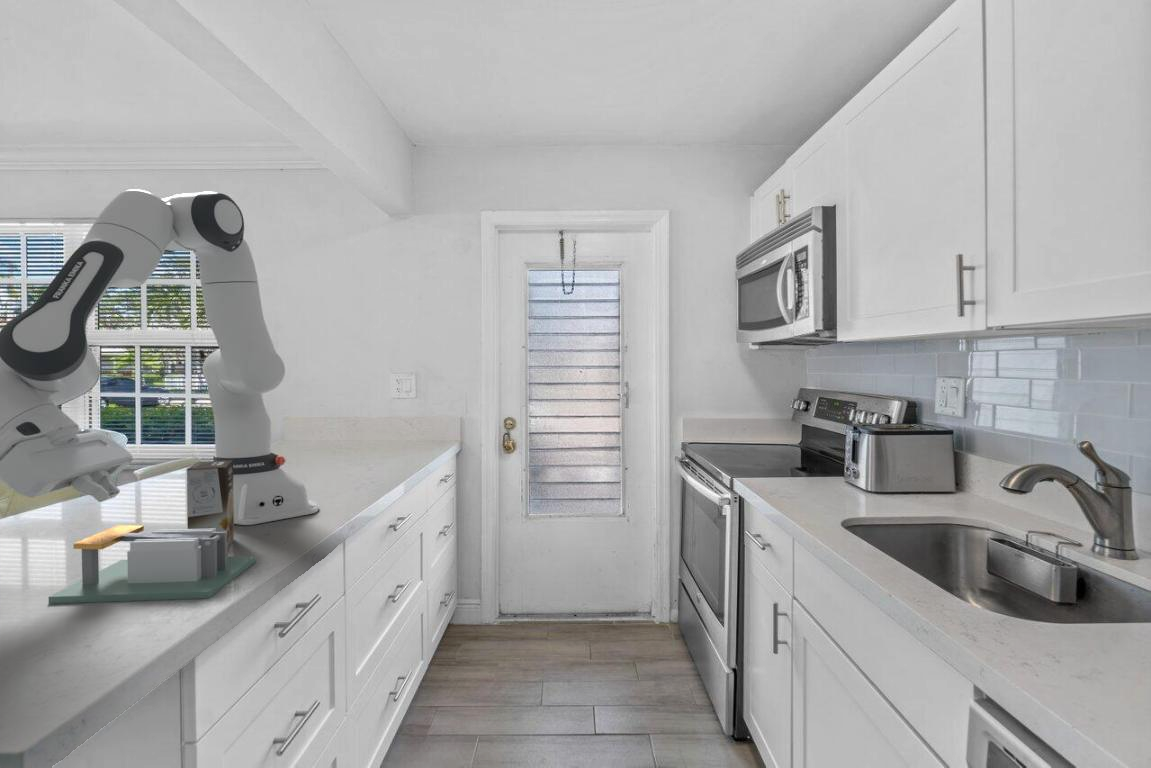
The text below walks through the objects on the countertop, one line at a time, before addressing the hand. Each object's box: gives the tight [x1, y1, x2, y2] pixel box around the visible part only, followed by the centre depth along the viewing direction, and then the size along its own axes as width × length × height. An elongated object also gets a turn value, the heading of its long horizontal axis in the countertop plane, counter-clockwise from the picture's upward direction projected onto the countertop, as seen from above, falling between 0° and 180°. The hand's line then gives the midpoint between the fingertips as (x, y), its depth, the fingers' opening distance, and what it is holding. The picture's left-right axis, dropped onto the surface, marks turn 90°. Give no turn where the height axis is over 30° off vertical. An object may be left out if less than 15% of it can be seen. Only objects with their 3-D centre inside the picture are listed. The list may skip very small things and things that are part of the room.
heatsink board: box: [47, 528, 257, 605], centre depth 94 cm, size 22×16×7 cm
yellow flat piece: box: [73, 524, 212, 550], centre depth 93 cm, size 17×10×1 cm, turn 97°
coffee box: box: [186, 460, 235, 551], centre depth 110 cm, size 9×6×16 cm
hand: (111, 497), depth 93 cm, fingers closed
